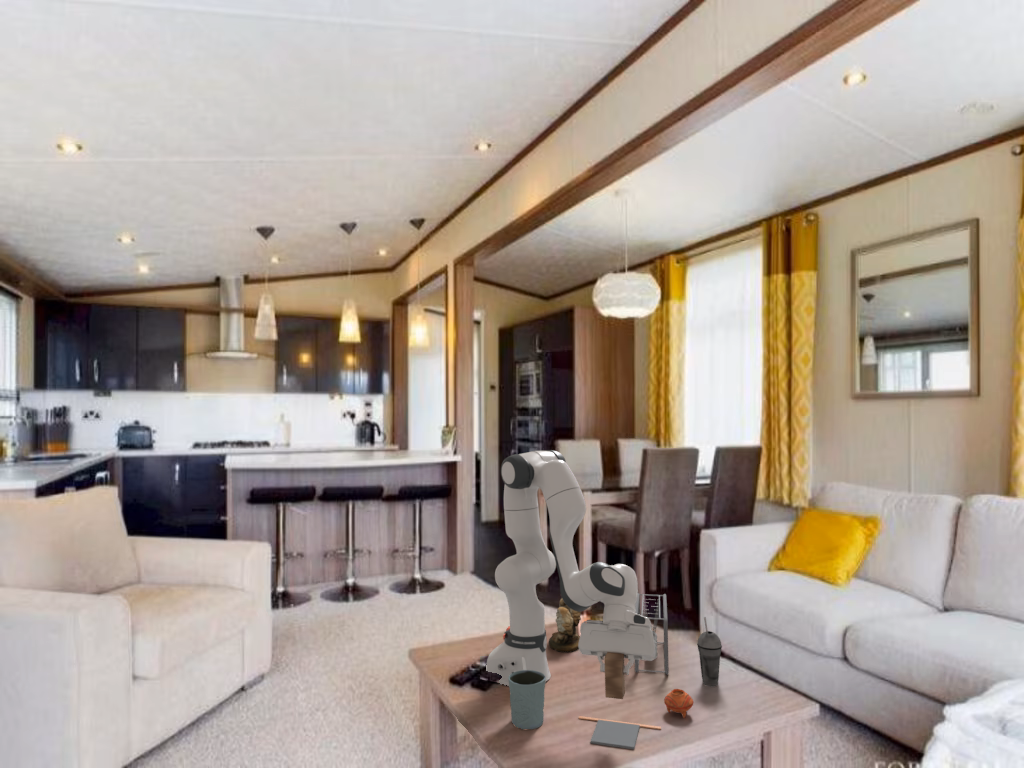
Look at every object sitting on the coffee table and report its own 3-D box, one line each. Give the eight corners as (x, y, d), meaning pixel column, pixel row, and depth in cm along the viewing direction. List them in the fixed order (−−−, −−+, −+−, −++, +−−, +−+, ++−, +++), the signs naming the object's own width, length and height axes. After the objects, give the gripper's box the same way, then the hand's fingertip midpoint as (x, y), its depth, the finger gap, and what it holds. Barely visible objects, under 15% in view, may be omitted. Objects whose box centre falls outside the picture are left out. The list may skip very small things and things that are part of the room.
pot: (701, 716, 180) (696, 693, 179) (676, 727, 178) (671, 703, 177) (686, 702, 187) (681, 680, 187) (662, 712, 185) (656, 690, 185)
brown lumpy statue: (550, 634, 245) (549, 588, 246) (581, 635, 244) (581, 588, 245) (547, 652, 228) (547, 602, 228) (582, 653, 226) (581, 603, 227)
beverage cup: (724, 689, 197) (722, 621, 197) (698, 687, 198) (697, 620, 199) (721, 679, 204) (720, 614, 204) (697, 677, 205) (695, 612, 206)
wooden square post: (605, 697, 169) (604, 658, 170) (608, 690, 174) (607, 651, 174) (622, 699, 168) (621, 659, 168) (625, 691, 172) (624, 653, 173)
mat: (590, 743, 167) (590, 740, 167) (598, 721, 178) (598, 719, 178) (634, 749, 164) (634, 747, 164) (639, 727, 175) (639, 725, 175)
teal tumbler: (510, 731, 173) (509, 685, 174) (507, 713, 184) (507, 670, 184) (548, 729, 174) (547, 684, 174) (543, 711, 184) (543, 668, 185)
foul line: (578, 718, 180) (578, 717, 180) (579, 717, 181) (579, 715, 181) (660, 729, 173) (660, 728, 173) (661, 727, 174) (661, 726, 174)
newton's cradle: (637, 640, 238) (636, 591, 238) (667, 642, 235) (666, 592, 236) (634, 674, 208) (633, 618, 209) (668, 677, 206) (667, 619, 207)
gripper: (579, 613, 181) (572, 663, 171) (655, 619, 175) (652, 671, 165) (583, 624, 185) (576, 673, 176) (657, 630, 179) (655, 682, 169)
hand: (614, 672), depth 170 cm, fingers closed on wooden square post, 4 cm apart
